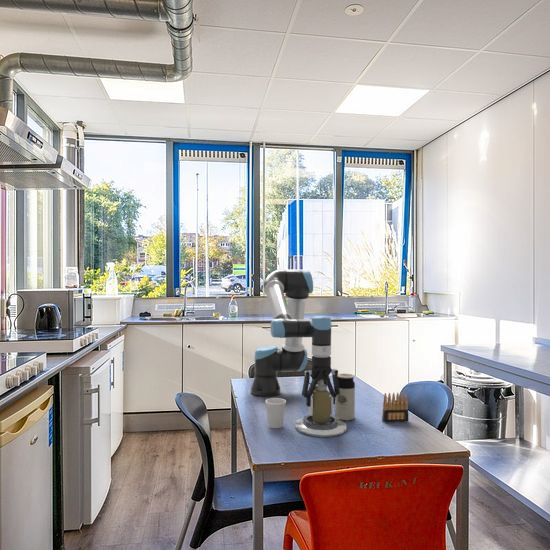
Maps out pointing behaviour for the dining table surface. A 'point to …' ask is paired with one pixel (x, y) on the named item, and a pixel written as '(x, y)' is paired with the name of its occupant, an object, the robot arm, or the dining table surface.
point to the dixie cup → (275, 412)
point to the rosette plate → (320, 432)
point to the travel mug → (345, 397)
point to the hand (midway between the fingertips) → (320, 413)
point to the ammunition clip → (395, 409)
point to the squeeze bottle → (321, 403)
